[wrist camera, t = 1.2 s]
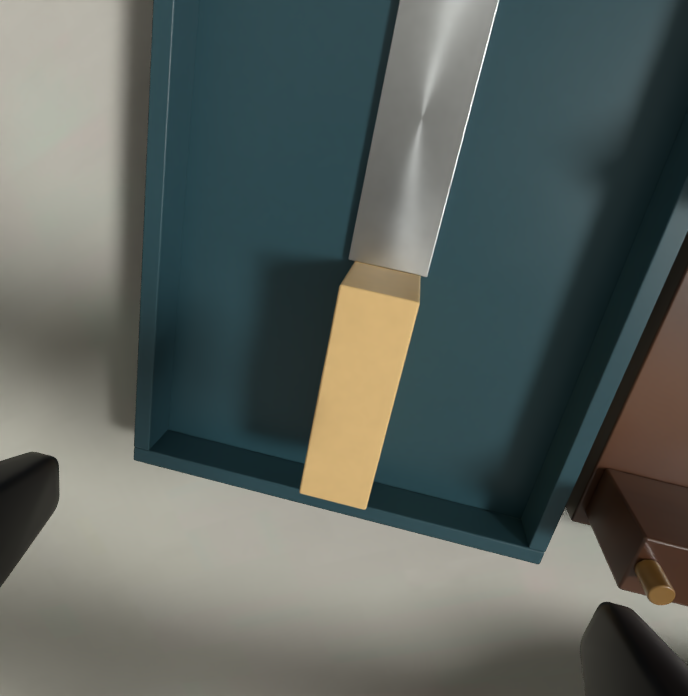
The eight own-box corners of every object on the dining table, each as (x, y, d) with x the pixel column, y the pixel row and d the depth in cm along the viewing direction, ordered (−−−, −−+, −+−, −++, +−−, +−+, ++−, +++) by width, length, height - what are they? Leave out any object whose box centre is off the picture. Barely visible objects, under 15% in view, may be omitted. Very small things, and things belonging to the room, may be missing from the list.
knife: (380, 453, 19) (371, 513, 16) (313, 437, 20) (292, 492, 16) (514, -58, 13) (541, -123, 10) (415, -76, 14) (413, -145, 10)
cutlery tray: (528, 525, 20) (539, 565, 18) (159, 431, 21) (132, 460, 19) (788, -95, 13) (853, -140, 11) (200, -195, 14) (163, -253, 12)
